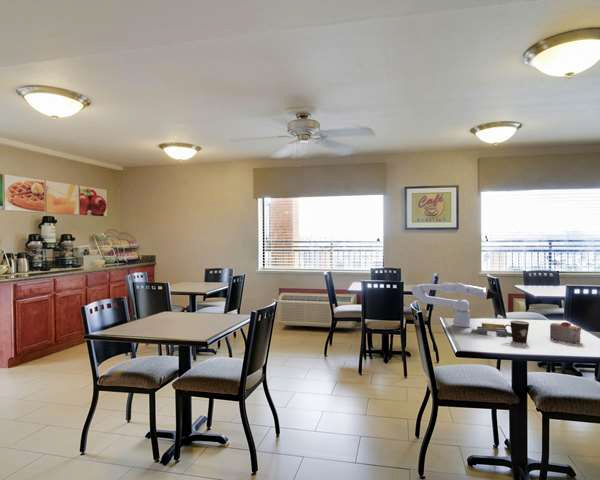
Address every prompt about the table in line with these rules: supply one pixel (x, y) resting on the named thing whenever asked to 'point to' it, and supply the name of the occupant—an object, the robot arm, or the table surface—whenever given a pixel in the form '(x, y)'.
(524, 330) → the coffee mug
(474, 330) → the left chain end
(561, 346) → the table surface
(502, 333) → the right chain end
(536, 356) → the table surface
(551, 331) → the food item
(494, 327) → the tan wooden beam
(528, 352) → the table surface
